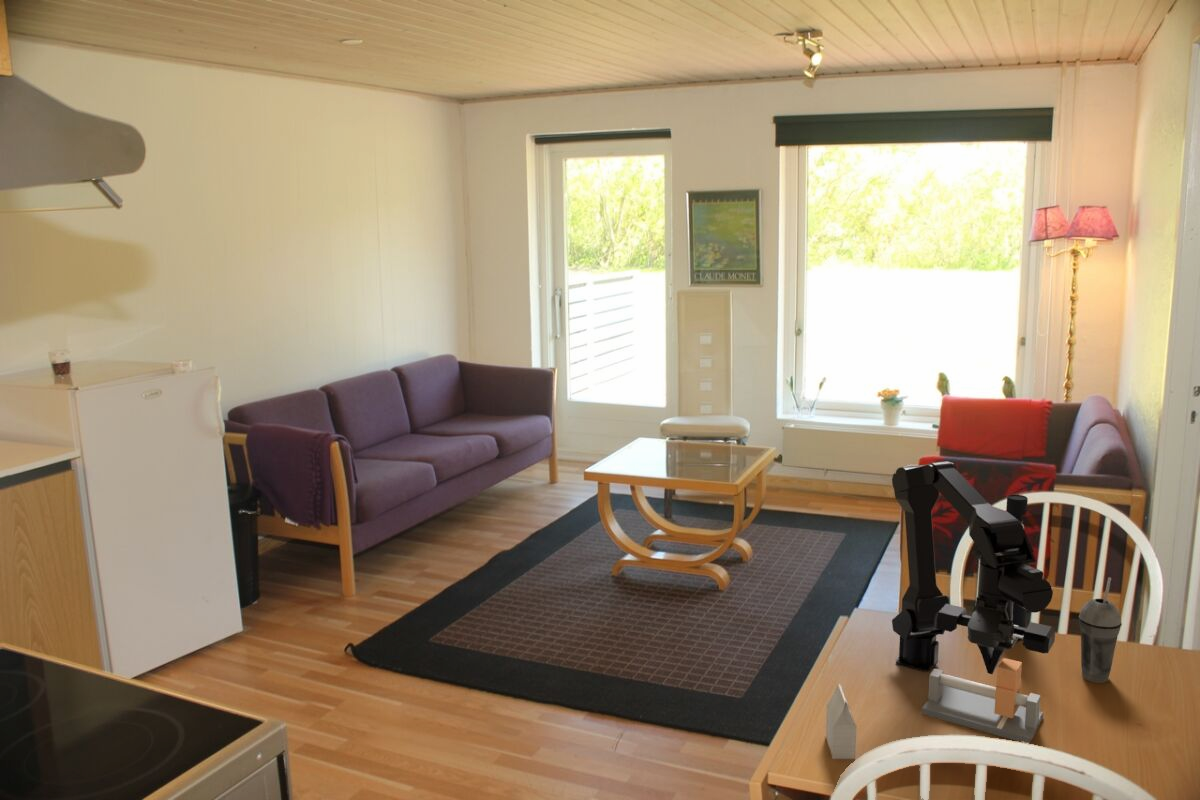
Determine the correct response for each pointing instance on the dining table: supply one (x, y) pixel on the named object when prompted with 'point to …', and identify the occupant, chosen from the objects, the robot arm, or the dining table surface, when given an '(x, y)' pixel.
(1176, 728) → the dining table surface
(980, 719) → the rail stand
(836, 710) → the grey gable top carton
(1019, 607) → the black water bottle
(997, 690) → the collar
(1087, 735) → the dining table surface
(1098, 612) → the beverage cup
